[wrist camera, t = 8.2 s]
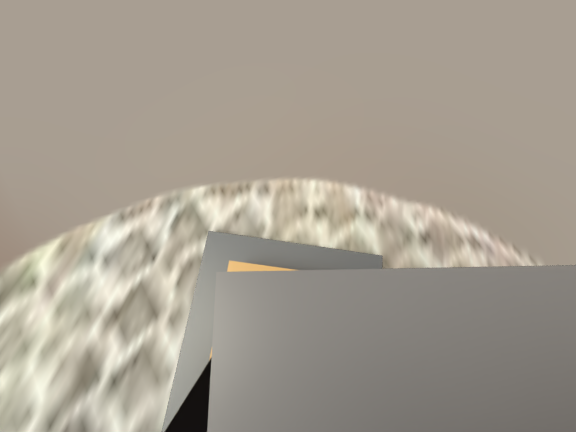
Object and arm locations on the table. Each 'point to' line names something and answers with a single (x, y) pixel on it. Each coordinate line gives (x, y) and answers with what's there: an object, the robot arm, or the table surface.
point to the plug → (395, 350)
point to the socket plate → (232, 258)
